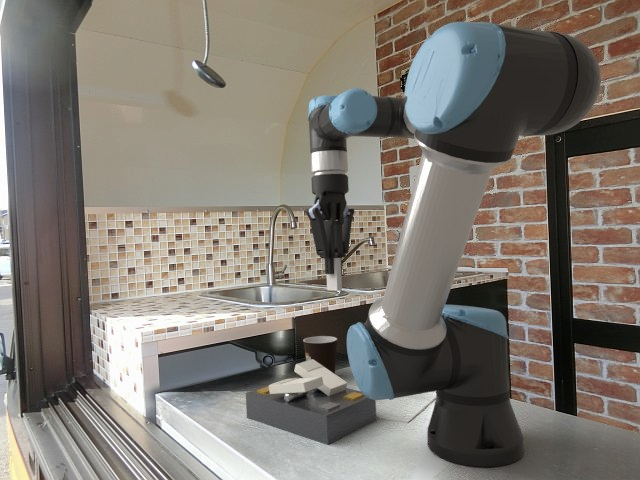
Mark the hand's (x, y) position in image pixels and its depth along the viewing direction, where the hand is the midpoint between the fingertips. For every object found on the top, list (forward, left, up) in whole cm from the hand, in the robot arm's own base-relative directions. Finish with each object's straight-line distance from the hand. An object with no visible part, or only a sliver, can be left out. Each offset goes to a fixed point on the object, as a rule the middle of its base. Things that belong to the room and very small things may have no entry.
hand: (334, 289), depth 102 cm
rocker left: (+2, +10, -17) cm, 20 cm away
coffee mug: (+20, -16, -25) cm, 36 cm away
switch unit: (+2, +7, -25) cm, 26 cm away
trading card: (-7, -11, -26) cm, 29 cm away
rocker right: (+2, +3, -17) cm, 18 cm away
